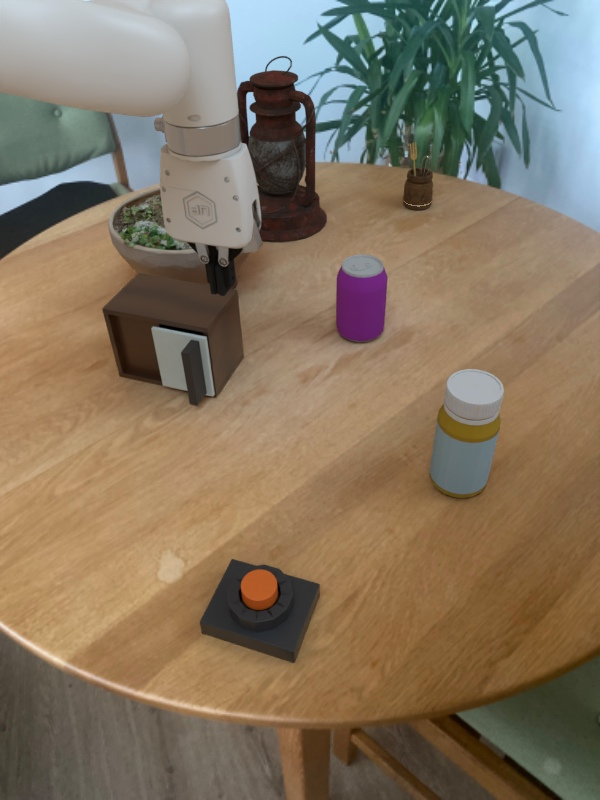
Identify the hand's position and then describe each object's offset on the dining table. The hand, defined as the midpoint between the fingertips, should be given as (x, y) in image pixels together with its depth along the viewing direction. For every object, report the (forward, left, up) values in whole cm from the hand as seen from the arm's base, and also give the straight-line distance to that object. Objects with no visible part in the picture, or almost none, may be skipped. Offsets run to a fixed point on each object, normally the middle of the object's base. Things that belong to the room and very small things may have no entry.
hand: (222, 288), depth 80 cm
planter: (-21, +29, -20) cm, 41 cm away
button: (+15, -28, -16) cm, 36 cm away
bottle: (+31, -3, -20) cm, 37 cm away
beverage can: (+11, +24, -20) cm, 33 cm away
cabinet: (-12, +7, -20) cm, 25 cm away
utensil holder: (+10, +72, -20) cm, 76 cm away
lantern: (-15, +57, -20) cm, 63 cm away
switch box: (+15, -28, -20) cm, 37 cm away
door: (-8, 0, -19) cm, 21 cm away
